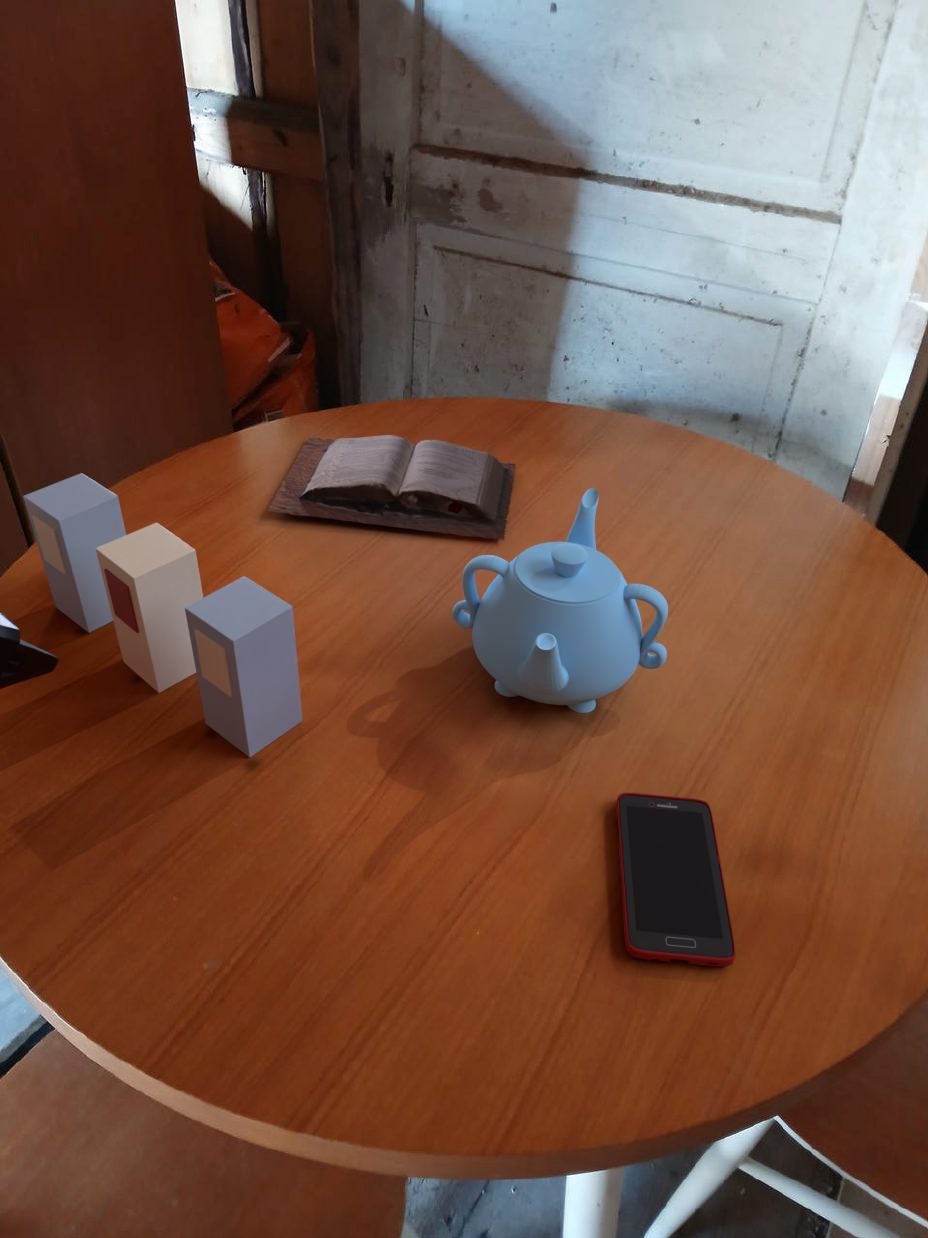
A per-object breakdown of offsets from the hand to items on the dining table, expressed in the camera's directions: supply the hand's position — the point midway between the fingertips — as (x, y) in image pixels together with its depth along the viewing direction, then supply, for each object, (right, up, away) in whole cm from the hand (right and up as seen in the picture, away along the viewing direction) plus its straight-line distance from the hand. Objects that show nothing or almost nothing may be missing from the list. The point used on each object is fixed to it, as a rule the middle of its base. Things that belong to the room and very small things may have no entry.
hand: (21, 636), depth 67 cm
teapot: (+41, -4, +20) cm, 46 cm away
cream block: (+5, -3, +19) cm, 19 cm away
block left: (-4, +3, +25) cm, 25 cm away
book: (+25, +17, +46) cm, 55 cm away
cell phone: (+49, -19, +2) cm, 52 cm away
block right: (+14, -8, +13) cm, 21 cm away
